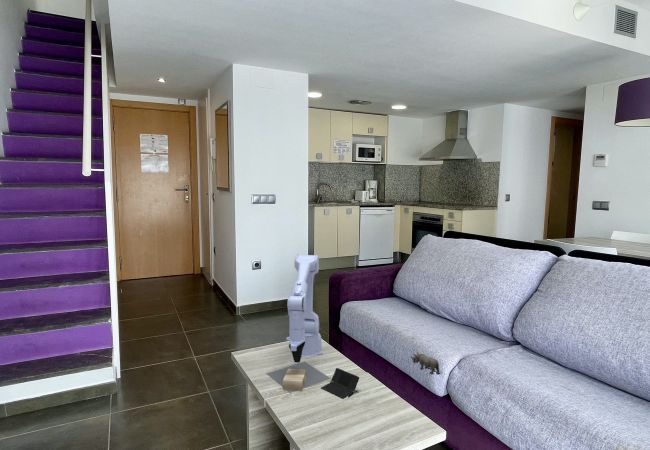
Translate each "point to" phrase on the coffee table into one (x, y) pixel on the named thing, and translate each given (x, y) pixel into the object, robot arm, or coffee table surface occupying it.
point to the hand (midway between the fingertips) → (297, 361)
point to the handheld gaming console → (342, 384)
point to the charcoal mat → (311, 373)
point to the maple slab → (294, 379)
